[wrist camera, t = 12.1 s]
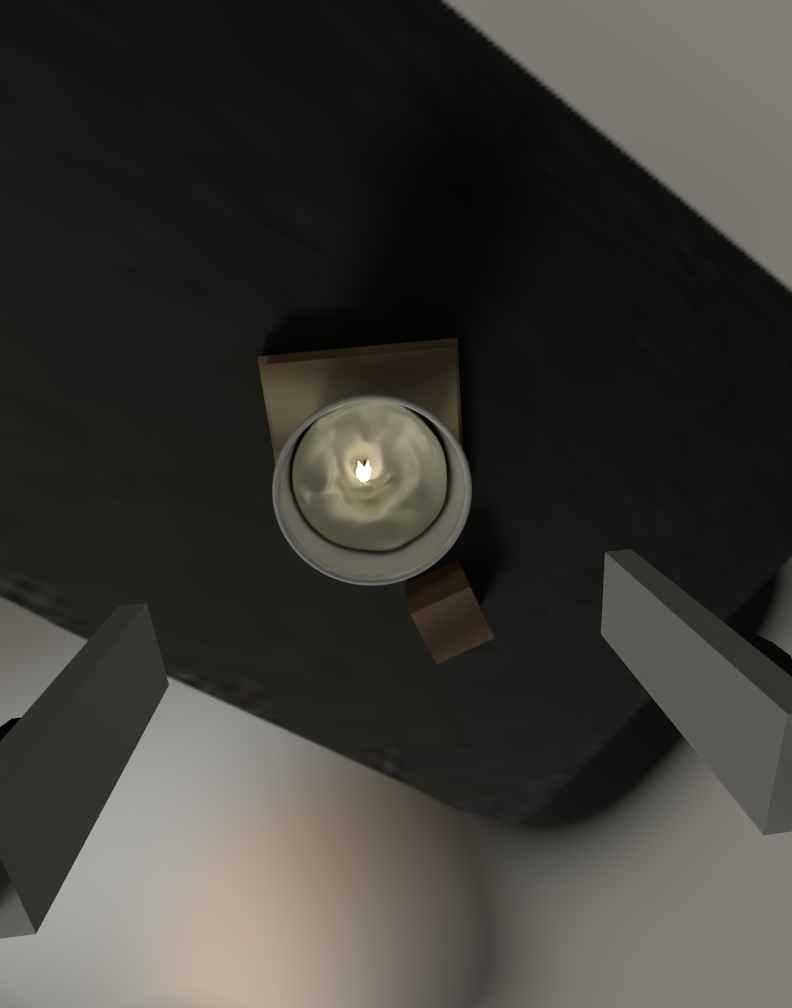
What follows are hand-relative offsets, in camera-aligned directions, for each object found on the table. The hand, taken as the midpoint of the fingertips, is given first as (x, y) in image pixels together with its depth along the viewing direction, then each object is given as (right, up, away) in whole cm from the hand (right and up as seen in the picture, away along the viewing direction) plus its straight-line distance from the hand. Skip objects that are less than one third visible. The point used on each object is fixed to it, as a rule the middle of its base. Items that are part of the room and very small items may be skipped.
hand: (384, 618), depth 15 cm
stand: (-2, +8, +25) cm, 26 cm away
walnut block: (+4, -5, +29) cm, 30 cm away
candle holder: (-2, +8, +22) cm, 23 cm away
